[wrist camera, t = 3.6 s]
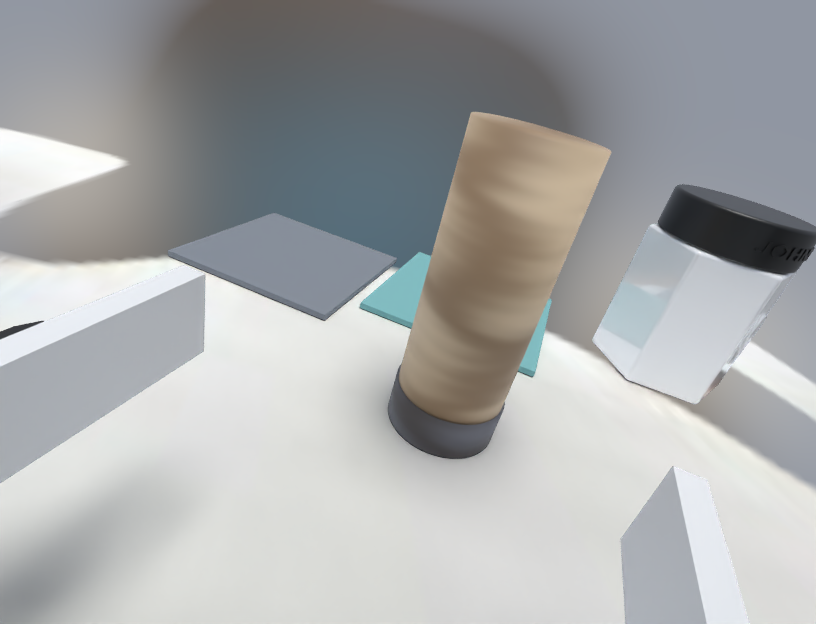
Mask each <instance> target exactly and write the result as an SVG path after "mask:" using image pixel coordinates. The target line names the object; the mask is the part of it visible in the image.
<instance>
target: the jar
mask: <svg viewBox="0 0 816 624" xmlns="http://www.w3.org/2000/svg"><path fill="white" fill-rule="evenodd" d="M815 244H816V227H815V226H814V225H811V224H810V223H808V222H805V221H803V220H801V219H798V218H796V217H794V216H791V215H788V214H786V213H784V212H781V211H778V210H775V209H773V208H770V207H767V206H764V205H761V204H758V203H755V202H752V201H749V200H746V199H742V198H739V197H736V196H733V195H729V194H726V193H722V192H718V191H714V190H710V189H706V188H702V187H697V186H691V185H683V184H682V185H678V186H676V187H675V189H674V191H673V193H672V195H671V197H670V199H669V200H668V203H667V204H666V206H665V208H664V210H663V212H662V214H661V216H660V218H659V220H658V223H657V224H651V225H650V226H649V227H648V229H647V231H646V233H645V235H644V237H643V239H642V241H641V244H640V245H639V247H638V249H637V251H636V253H635V255H634V257H633V259H632V261H631V263H630V265H629V267H628V269H627V271H626V273H625V275H624V277H623V279H622V281H621V283H620V285H619V287H618V289H617V291H616V293H615V295H614V297H613V299H612V301H611V303H610V305H609V307H608V309H607V311H606V313H605V315H604V317H603V319H602V321H601V323H600V325H599V327H598V329H597V331H596V333H595V335H594V337H593V343H594V344H595V345H596V346H597V347H598V348H599V349H600V350H601V352H602V353H603V354H604V355H605V356H606V357H607V358H608V359H609V360H610V362H611V363H612V364H613V365H614V366H615V367H616V368H617V369H618V370H619V372H620V373H621V374H622V375H623V376H624V377H625V378H626V379H627V380H629V381H632V382H635V383H637V384H640V385H643V386H646V387H648V388H651V389H654V390H656V391H659V392H662V393H664V394H667V395H670V396H673V397H675V398H678V399H681V400H683V401H686V402H689V403H692V404H697V403H699V402H700V401H701V400H702V399H703V398H704V397H705V396H706V395H707V394H708V393H709V392H711V391H712V390H713V389H714V388H715V387H716V386H717V385H718V384H719V383H720V381H721V380H722V379H723V377H724V376H725V374H726V373H727V371H728V370H729V369H730V367H731V366H732V364H733V363H734V361H735V360H736V359H737V357H738V356H739V355H740V354H741V352H742V351H743V350H744V348H745V347H746V345H747V344H748V343H749V342H750V341H751V339H752V338H753V336H754V335H755V334H756V332H757V331H758V330H759V328H760V327H761V325H762V324H763V323H764V321H765V319H766V317H767V314H768V313H769V311H770V310H771V308H772V307H773V306H774V304H775V303H776V301H777V300H778V298H779V297H780V296H781V294H782V293H783V291H784V290H785V288H786V287H787V286H788V284H789V283H790V281H791V280H792V278H793V277H794V276H795V274H796V273H797V270H798V269H799V267H800V266H801V264H802V263H803V262H804V261H806V260H807V259H808V257H809V256H810V254H811V253H812V252H813V250H814V246H815Z"/></svg>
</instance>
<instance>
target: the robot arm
mask: <svg viewBox="0 0 816 624" xmlns="http://www.w3.org/2000/svg"><path fill="white" fill-rule="evenodd" d="M204 318H205V273H202V272H200V271H197V270H195V269H193V268H190V267H188V266H185V265H182V266H180V267H177V268H175V269H172V270H170V271H167V272H165V273H162V274H160V275H158V276H155V277H153V278H150V279H148V280H145V281H143V282H140V283H138V284H135V285H133V286H131V287H128V288H126V289H123V290H121V291H118V292H116V293H113V294H111V295H108V296H106V297H104V298H101V299H99V300H96V301H94V302H91V303H89V304H86V305H84V306H81V307H79V308H76V309H74V310H72V311H69V312H67V313H64V314H62V315H59V316H57V317H54V318H52V319H49V320H47V321H39V322H34V323H29V324H24V325H19V326H14V327H11V328H9V329H6V330H4V331H1V332H0V483H1V482H3V481H4V480H6V479H8V478H9V477H11V476H12V475H14V474H15V473H17V472H18V471H20V470H21V469H23V468H25V467H26V466H28V465H29V464H31V463H32V462H34V461H35V460H37V459H38V458H40V457H41V456H43V455H45V454H46V453H48V452H49V451H51V450H52V449H54V448H55V447H57V446H58V445H60V444H62V443H63V442H65V441H66V440H68V439H69V438H71V437H72V436H74V435H75V434H77V433H78V432H80V431H82V430H83V429H85V428H86V427H88V426H89V425H91V424H92V423H94V422H95V421H97V420H99V419H100V418H102V417H103V416H105V415H106V414H108V413H109V412H111V411H112V410H114V409H115V408H117V407H119V406H120V405H122V404H123V403H125V402H126V401H128V400H129V399H131V398H132V397H134V396H136V395H137V394H139V393H140V392H142V391H143V390H145V389H146V388H148V387H149V386H151V385H152V384H154V383H156V382H157V381H159V380H160V379H162V378H163V377H165V376H166V375H168V374H169V373H171V372H173V371H174V370H176V369H177V368H179V367H180V366H182V365H183V364H185V363H186V362H188V361H189V360H191V359H193V358H194V357H196V356H197V355H199V354H200V353H202V352H203V351H204ZM621 556H622V573H623V590H624V607H625V624H750V622H749V618H748V615H747V612H746V608H745V605H744V602H743V598H742V595H741V591H740V588H739V585H738V581H737V578H736V574H735V571H734V568H733V564H732V561H731V558H730V554H729V551H728V547H727V544H726V541H725V537H724V534H723V530H722V527H721V524H720V520H719V517H718V514H717V510H716V507H715V503H714V500H713V497H712V493H711V490H710V487H709V483H708V480H707V479H704V478H702V477H699V476H697V475H695V474H692V473H690V472H687V471H685V470H682V469H680V468H677V467H675V466H673V467H672V468H671V469H670V471H669V472H668V474H667V475H666V476H665V478H664V479H663V481H662V482H661V483H660V485H659V486H658V488H657V489H656V490H655V492H654V493H653V495H652V496H651V497H650V499H649V500H648V501H647V503H646V504H645V506H644V507H643V508H642V510H641V511H640V513H639V514H638V515H637V517H636V518H635V520H634V521H633V522H632V524H631V525H630V527H629V528H628V529H627V531H626V532H625V534H624V535H623V536H622V538H621Z"/></svg>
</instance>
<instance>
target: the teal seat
mask: <svg viewBox="0 0 816 624" xmlns="http://www.w3.org/2000/svg"><path fill="white" fill-rule="evenodd" d="M430 260H431V256H429V255H426V254H423V253H421V252H419V253H418V254H417V255H415V257H413V258H412V259H411V260H410V261H409V262H407V263H406V264H405V265H404V266H403V267H402V268H400V269H399V270H398V271H397V272H396V273H395V274H393V275H392V276H391V277H390V278H389V279H388V280H386V281H385V282H384V283H383V284H382V285H381V286H380V287H378V288H377V289H376V290H375V291H374V292H373V293H371V294H370V295H369V296H368V297H367V298H366V299H364V300H363V301H362V302H361V304H360V308H362V309H364V310H367V311H369V312H372V313H374V314H377V315H379V316H382V317H384V318H387V319H389V320H392V321H394V322H397V323H399V324H402V325H404V326H407V327H409V328H412V325H413V321H414V318H415V314H416V310H417V307H418V303H419V300H420V296H421V292H422V289H423V285H424V281H425V278H426V274H427V271H428V267H429V263H430ZM551 301H552V300H551V299H548V301H547V304H546V306H545V308H544V311H543V313H542V315H541V318H540V320H539V322H538V325H537V327H536V329H535V332H534V334H533V336H532V339H531V341H530V343H529V346H528V348H527V350H526V353H525V355H524V357H523V360H522V362H521V364H520V367H519V369H518V371H519V372H522V373H524V374H527V375H529V376H532V377H533V376H534V374H535V371H536V367H537V362H538V358H539V353H540V349H541V345H542V340H543V336H544V331H545V327H546V323H547V318H548V314H549V309H550V305H551Z"/></svg>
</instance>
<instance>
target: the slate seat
mask: <svg viewBox="0 0 816 624" xmlns="http://www.w3.org/2000/svg"><path fill="white" fill-rule="evenodd" d="M168 256H170V257H172V258H175V259H177V260H179V261H182V262H184V263H187V264H189V265H191V266H194V267H196V268H199V269H201V270H204V271H206V272H208V273H211V274H213V275H216V276H218V277H220V278H223V279H225V280H228V281H230V282H233V283H235V284H237V285H240V286H242V287H245V288H247V289H249V290H252V291H254V292H257V293H259V294H262V295H264V296H266V297H269V298H271V299H274V300H276V301H278V302H281V303H283V304H286V305H288V306H291V307H293V308H295V309H298V310H300V311H303V312H305V313H308V314H310V315H312V316H315V317H317V318H320V319H322V320H326V319H327V318H328V317H329V316H330V315H332V314H333V313H334V312H335V311H337V310H338V309H339V308H340V307H342V306H343V305H344V304H345V303H346V302H348V301H349V300H350V299H351V298H353V297H354V296H355V295H356V294H358V293H359V292H360V291H361V290H363V289H364V288H365V287H366V286H367V285H369V284H370V283H371V282H372V281H374V280H375V279H376V278H377V277H379V276H380V275H381V274H382V273H383V272H385V271H386V270H387V269H388V268H390V267H391V266H392V265H393V264H395V263H396V259H397V258H395V257H392V256H390V255H387V254H384V253H381V252H379V251H376V250H373V249H371V248H368V247H365V246H362V245H360V244H357V243H354V242H352V241H349V240H346V239H343V238H341V237H338V236H335V235H333V234H330V233H327V232H324V231H322V230H319V229H316V228H313V227H311V226H308V225H305V224H303V223H300V222H297V221H294V220H292V219H289V218H286V217H284V216H281V215H278V214H276V213H272V214H270V215H267V216H264V217H261V218H259V219H256V220H253V221H250V222H247V223H245V224H241V225H239V226H236V227H233V228H230V229H227V230H224V231H222V232H219V233H216V234H213V235H211V236H208V237H205V238H202V239H199V240H196V241H193V242H191V243H188V244H185V245H182V246H179V247H176V248H174V249H171V250H168Z"/></svg>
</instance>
